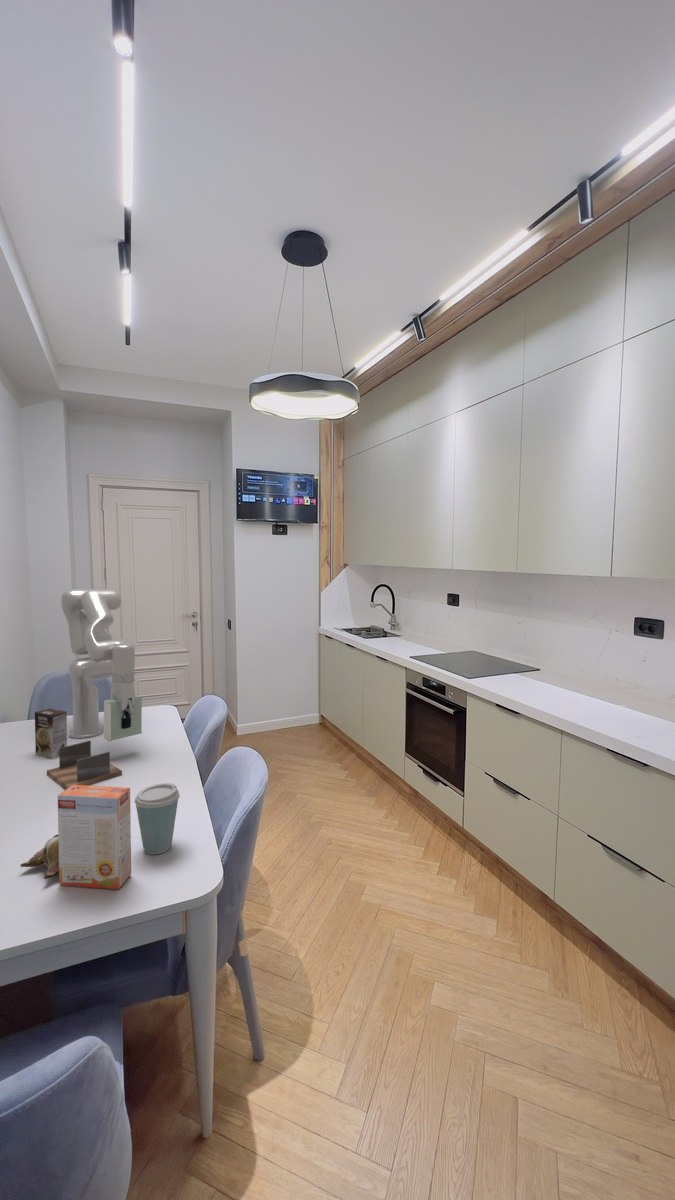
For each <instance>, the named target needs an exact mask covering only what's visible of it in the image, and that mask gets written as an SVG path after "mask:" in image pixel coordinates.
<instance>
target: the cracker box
mask: <svg viewBox="0 0 675 1200" xmlns="http://www.w3.org/2000/svg"><path fill="white" fill-rule="evenodd" d="M131 817H132V816H131V788H130V787H126V786H125V787H123V786H108V785H107V786H106V785H105V786H104V785H103V786H102V785H72V786H71V787H69V788H68V789H66V790H65V789H64V791H62V792H60V793H58V795H57V829H58V831H57V832H58V834H57V835H58V838H59V875H58V878H59V885H60V886H67V887H78V888H79V887H80V888H81V887H82V888H93V889H103V890H104V889H106V890H120V888H121V887H122V886H123V885H124V884H125V882H126V881H127V880H128V879H129V878H130V877H131V876H132V835H131V833H132V832H131V831H132V830H131V826H132V825H131V823H132V822H131V820H132V819H131Z"/></svg>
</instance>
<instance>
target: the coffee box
mask: <svg viewBox="0 0 675 1200" xmlns="http://www.w3.org/2000/svg"><path fill="white" fill-rule="evenodd" d="M67 717H68V716H67V711H64V710H60V709H54V708H47V709H43V710H39V711H35V712H34V733H35V734H34V739H35V741H34V744H35V755H36V756H39V757H43V758H47V759H52V760H53V759H56V758H59V748H61V747H66V746H68V743H67V742H68V739H67V738H68V735H67V734H68V733H67V732H68V731H67V730H68V729H67V727H68V725H67V721H68V719H67Z"/></svg>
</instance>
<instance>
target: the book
mask: <svg viewBox="0 0 675 1200" xmlns="http://www.w3.org/2000/svg"><path fill="white" fill-rule="evenodd" d="M142 698H143V697H142V695H139V694H137V693H135V706H134V708H133V709H134V712H133V713H132V716H131V727H130V728H126V729H122V718H123V715H122V711H120V710H118V701H117V700H115V699H110V698H109V699H104V700H103V738H104V739H105V740H106V741H108V742H112V741H117V740H120V739H124V738H128V737H131V736H136V735H139V734H142V726H143V724H142V721H143V720H142V715H143V714H142V708H143V706H142V705H143V702H142V701H143V699H142ZM126 709H128V707H126ZM126 712H128V711H125V714H126Z"/></svg>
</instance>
